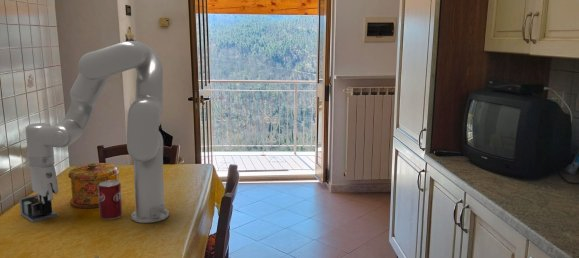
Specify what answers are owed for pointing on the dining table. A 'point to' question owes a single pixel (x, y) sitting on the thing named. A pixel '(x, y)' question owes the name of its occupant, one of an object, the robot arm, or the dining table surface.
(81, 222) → the dining table surface
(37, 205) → the blue-grey small box
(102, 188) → the soda can
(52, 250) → the dining table surface
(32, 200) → the grey desk caddy
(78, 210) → the dining table surface
